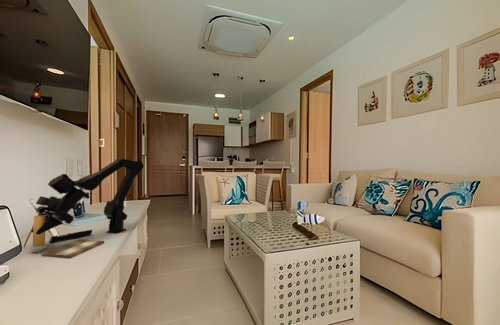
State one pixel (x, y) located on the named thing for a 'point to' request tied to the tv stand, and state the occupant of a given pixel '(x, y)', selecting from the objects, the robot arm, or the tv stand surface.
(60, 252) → the subfloor panel
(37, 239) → the orange rounded post
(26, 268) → the tv stand surface
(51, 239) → the electric trimmer
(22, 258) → the tv stand surface
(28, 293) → the tv stand surface
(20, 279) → the tv stand surface
